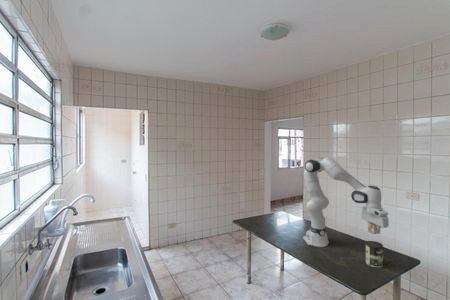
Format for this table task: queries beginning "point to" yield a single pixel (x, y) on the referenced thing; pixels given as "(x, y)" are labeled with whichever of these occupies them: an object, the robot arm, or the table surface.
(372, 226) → the beech block
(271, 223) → the table surface
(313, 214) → the robot arm
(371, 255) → the coffee can
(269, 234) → the table surface
